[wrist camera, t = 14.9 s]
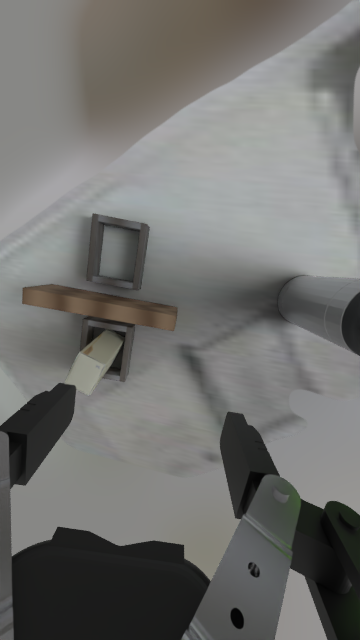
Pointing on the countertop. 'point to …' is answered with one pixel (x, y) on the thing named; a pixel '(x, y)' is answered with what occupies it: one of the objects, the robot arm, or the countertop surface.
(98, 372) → the skincare box
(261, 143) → the countertop surface
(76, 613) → the robot arm
